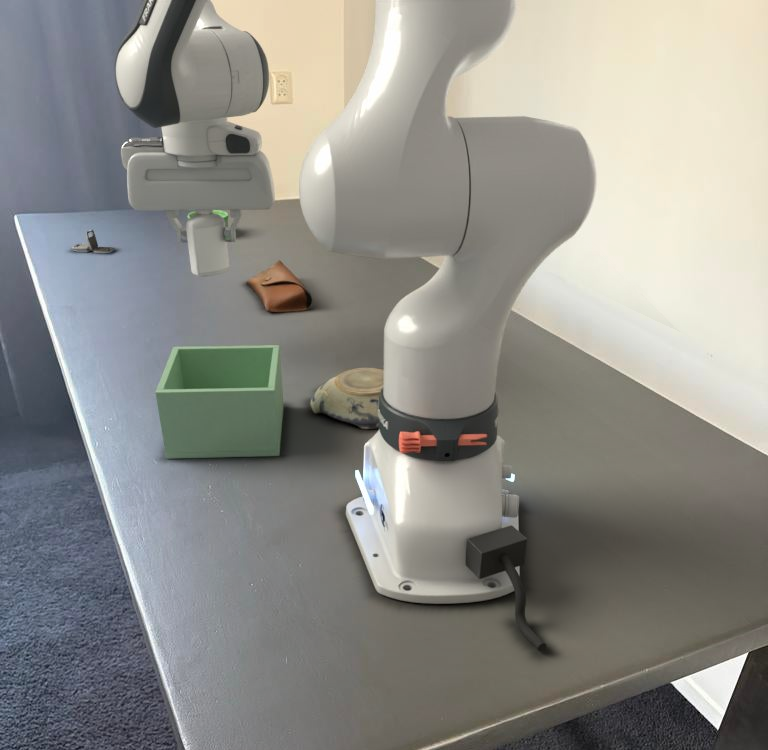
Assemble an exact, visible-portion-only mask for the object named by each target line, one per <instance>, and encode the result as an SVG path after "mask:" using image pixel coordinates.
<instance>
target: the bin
mask: <svg viewBox="0 0 768 750" xmlns="http://www.w3.org/2000/svg"><path fill="white" fill-rule="evenodd" d="M280 349H281V346H280V345H279V344H274V345H273V344H272V345H271V344H269V345H268V344H267V345H208V346H207V345H205V346H204V345H200V346H173V347H172V350H171V352H170V355H169V356H168V358H167V362H166V365H165V367H164V369H163V373H162V375H161V377H160V380H159V382H158V385H157V387H156V389H155V392H154V393H155V400H156V407H157V413H158V418H159V424H160V429H161V430H160V431H161V435H162V441H163V442H162V443H163V448H164V453H165V458H166V459H167V460H168V459H170V460H171V459H172V460H173V459H204V458H207V459H211V458H214V459H215V458H251V457H252V458H253V457H254V458H255V457H279V456H280V452H281V440H282V439H281V438H282V427H283V417H284V393H283V391H284V390H283V378H282V375H283V374H282V362H281V350H280Z"/></svg>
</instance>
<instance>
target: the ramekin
mask: <svg viewBox="0 0 768 750" xmlns="http://www.w3.org/2000/svg"><path fill="white" fill-rule="evenodd" d="M212 213H214V214H218V215H220V216H221V217H223V219H224V221H225V227H229V215H230V213H228V211H227V212H226V211H225V210H213V212H212ZM195 214H196V212H195V211H191V212H189V213H188V214H187V216H186V217H187V220H188V219H189V218H191V217H192V216H194V215H195Z"/></svg>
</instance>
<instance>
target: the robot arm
mask: <svg viewBox="0 0 768 750" xmlns="http://www.w3.org/2000/svg"><path fill="white" fill-rule="evenodd" d="M374 8H375V11H374V30H373V39H372V43H371V48H370V53H369V57H368V60H367V63H366V67H365V70H364V73H363V75H362V77H361V80H360V81H359V84H358V86H357V88H356V90H355V91H354V93H353V95H352V97H351V98H350V100H349V101H348V103H347V104H346V106H344V108H343V109H342V111H340V113H339V114H338V116H337V117H336V118H335V119H334V120H333V121H332V122H331V123H329V125H327V126H326V127H325V128H324V129H323V130H322V131H321V132H320V133H319V134H318V135H317V136H316V137H315V139H314V140H313V142H312V143H311V145H310V146H309V148H308V150H307V152H306V153H305V156H304V158H303V161H302V165H301V167H300V173H299V179H298V197H299V198H298V199H299V203H300V209H301V212H302V215H303V218H304V220H305V222H306V225H307V228H308V229H309V230H310V232H311V233H312V235H313V236H314V238H315V239H316V240H317V242H318V243H319V244H320V245H321V246H322V247H323V248H324V249H325V250H327V251H328V252H330V253H333V254H334V253H335V254H341V255H345V256H352V257H359V258H364V259H366V258H367V259H375V260H394V259H395V260H396V259H413V258H414V259H415V258H429V257H431V258H432V257H444V259H443V261H442V264H441V265H440V267H439V268H438V270H437V271H436V273H434V275H433V276H432V277H431V278H430V279H429V280H428V281H427V282H426V283H424V284H423V285H421V286H420V287H418V288H416V289H415V290H413V291H411V292H410V293H408V294H406V295H404V297H402V298H401V299H400V300H399V301H398V302H396V304H395V306H394V307H393V308H392V310H391V312H390V313H389V315H388V317H387V318H386V322H385V324H384V328H383V370H384V386H383V388H382V389H381V391H380V394H379V402H378V426H379V428H378V430H377V431H376V432H375V434H374V435H373V436H371V438H369V439H368V441H366V442H365V444H364V446H363V471H362V473H363V475H362V476H361V473H360V471H359V469H357V470H355V480H356V481H357V484H358V486H359V489H360V491H361V494H362V496H360V497H357V498H355V499H352V500H351V501H349V502H348V503H347V504H346V506H345V507H346V508H345V517H346V519H347V521H348V524H349V526H350V529H351V531H352V535H353V536H354V539H355V541H356V543H357V547H358V549H359V551H360V554H361V557H362V560H363V561H364V564H365V566H366V569H367V571H368V574H369V576H370V579H371V582H372V584H373V587H374V588H375V590H376V592H377V593H378V594H380V595H382V596H384V597H387V598H391V599H394V600H398V601H403V602H409V603H418V604H430V605H432V604H433V605H439V604H440V605H442V604H445V605H446V604H451V605H452V604H464V603H465V604H467V603H475V602H482V601H483V602H484V601H490V600H493V599H497V598H501V597H503V596H506V595H509V594H511V593H513V592H514V594H515V607H514V609H515V610H514V617H515V618H514V619H515V623H516V625H517V628H518V629H519V631H520V633H521V634H522V635H523V637H524V638H525V639H526V640H527V641H528V642H529V643H530V644H531V645H533V646H534V647H535V648H536V650H537V651H538V652H542V651H544V650H545V649H546V648H547V644H546V643H545V641H544V640H543V639H542V638H541V637H540V636H539V635H537V633H535V632H534V631H533V630H532V628H531V627H530V625H529V623H528V621H527V618H526V607H527V606H526V604H527V595H526V590H525V587H524V584H523V582H522V578H521V573H520V572H521V571H520V570H521V569H520V568H521V566H524V565H525V560H526V554H527V553H526V552H527V545H528V537H526V536H525V535H524V534H523V533H521V531H520V530H519V529H520V527H519V525H520V524H519V523H520V522H519V506H520V496H519V495H517V494H513V493H512V494H510V491H509V490H506V489H503V479H505V480H507V481H509V482H512V483H513V482H514V481H515V474H513V467H512V465H508V464H504V463H503V460H504V453H505V446H506V445H505V444H506V441H505V440H504V439H503V438H502V437H501V436H500V435H498V425H499V421H500V419H499V417H500V409H499V397H498V394H497V392H496V385H497V377H498V368H499V361H500V355H501V349H502V343H503V340H504V339H503V338H504V333H505V329H506V325H507V321H508V319H509V317H510V314H511V311H512V309H513V307H514V305H515V303H516V301H517V299H518V297H519V296H520V293H521V292H522V291H523V288H524V287H525V286H526V284H527V282H528V281H529V280H530V279H531V277H532V276H533V274H534V273H535V272H536V270H538V268H539V267H540V266H541V265H542V263H543V262H544V261H545V260H546V259H547V258H548V257H549V256H550V255H551V254H553V252H555V251H556V250H557V249H558V248H559V247H560V246H562V245H563V244H565V243H566V242H568V241H569V240H570V239H572V238H573V237H574V236H575V235H576V234H577V233H578V231H579V230H580V229H581V228H582V226H583V225H584V223H585V222H586V221H587V218H588V217H589V214H590V212H591V210H592V208H593V204H594V201H595V197H596V192H597V186H598V185H597V184H598V176H597V175H598V174H597V166H596V165H597V164H596V162H595V157H594V154H593V151H592V148H591V146H590V144H589V143H588V141H587V139H586V138H585V136H584V135H583V134H582V132H581V131H580V130H579V129H578V128H576V127H574V126H571V125H567V124H564V123H560V122H556V121H551V120H546V119H542V118H536V117H531V116H526V115H518V116H517V115H515V116H513V115H512V116H476V117H473V116H472V117H471V116H470V117H469V116H468V117H454V116H450V115H447V102H448V94H449V90H450V87H451V84H452V82H453V80H455V79H456V78H458V77H460V76H462V75H463V74H465V73H467V72H469V71H470V70H472V69H473V68H475V67H477V66H479V64H481V63H483V62H484V61H485V60H487V59H488V58H490V57H491V56H493V55H494V54H495V53H496V52H497V51H498V50H500V48H501V47H502V46H503V45H504V43H505V42H506V40H507V39H508V37H509V35H510V32H511V30H512V28H513V25H514V23H515V18H516V15H517V0H375V6H374ZM114 61H115V62H114V78H115V84H116V88H117V92H118V95H119V97H120V99H121V101H122V103H123V104H124V105H125V107H127V109H128V110H129V111H130V112H131V113H132V114H133V115H134V116H135V117H137V118H138V119H140V120H141V121H142V122H144V124H147V125H148V126H150V127H151V128H154V129H158V128H161V134H162V136H158V137H157V136H155V137H153V136H152V137H144V138H143V137H136V136H135V137H130V138H129V140H126V141H125V142H124V143H123V145H122V146H121V147H120V158H121V163H122V166H123V168H124V169H125V171H126V182H127V183H126V184H127V186H126V187H127V196H128V199H127V200H128V204H129V205H130V206H131V208H133V209H134V211H137V212H147V211H148V212H149V211H154V212H157V211H161V212H162V211H165V214H166V219H167V221H168V222H169V223H170V225H171V226H172V228H173V229H174V230H175V231H176V236H177V242H178V243H179V244H180V243H181V244H182V243H188V240H187V231H186V226H183V225H182V224H181V222H180V221H179V219H178V216H179V214H180V211H195V210H220V211H229V215H230V217H231V219H233V220H232V222H231V225H230V226H228V227H225V229H224V235H225V242H227V243H236V241H237V232H236V228H237V226H238V224H239V223H240V220H241V218H242V216H243V215H242V214H243V213H242V211H253V210H254V211H256V210H257V211H258V210H259V211H261V210H263V211H265V210H266V211H267V210H270V209H271V208H272V207H273V206H274V205H275V202H276V193H275V185H274V179H273V173H272V167H271V165H270V161H269V159H268V157H267V156H266V154H265V153H264V152H263V151H262V150H261V149H262V147H263V137H262V135H261V133H260V132H259V131H258V130H255V129H252V128H249V127H246V126H242V125H240V124H237V123H233V122H231V121H228V118H234V117H235V118H236V117H242V116H247V115H250V114H253V113H256V112H257V111H258V110H259V109H260V108H261V107H262V105H263V103H264V102H265V100H266V97H267V95H268V92H269V91H268V90H269V87H270V70H269V63H268V58H267V56H266V54H265V51H264V50H263V47H262V46H261V44H260V43H259V41H258V40H257V39H256V38H255V37H254V36H253V35H252V34H251V33H250V32H249V31H246V30H241V29H239V28H237V27H235V26H234V25H232V24H230V23H229V22H227V21H226V20H224V19H223V18H222V17H221V16H220V15H219V14H218V13H217V11H216V8H215V6H214V4H213V2H212V0H143V1H142V3H141V5H140V8H139V11H138V14H137V16H136V18H135V20H134V22H133V24H132V25H131V26H130V28H129V29H128V31H127V32H126V34H125V36H124V37H123V39H122V41H121V43H120V45H119V47H118V49H117V52H116V55H115V60H114Z"/></svg>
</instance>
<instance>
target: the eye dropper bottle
mask: <svg viewBox="0 0 768 750" xmlns="http://www.w3.org/2000/svg"><path fill="white" fill-rule="evenodd" d="M194 212H196V214H195V215H194V216H192V217H191V218H189V219H188V218H187V221H186V222H185V227H186V231H187V240H188V242H187V247H188V255H189V263H190V271H191V273H192V275H194V276H197V277H200V278H205V277H206V278H207V277H212V276H213V277H214V276H218V275H222V274H224V273H227V272H229V271H230V268H231V267H230V266H231V265H230V257H229V256H230V255H229V247H228V242H225V235H224V229H225V221H224V219H223V217H221V216H220V215H218V214H214V213H212V212H213V210H194Z"/></svg>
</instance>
